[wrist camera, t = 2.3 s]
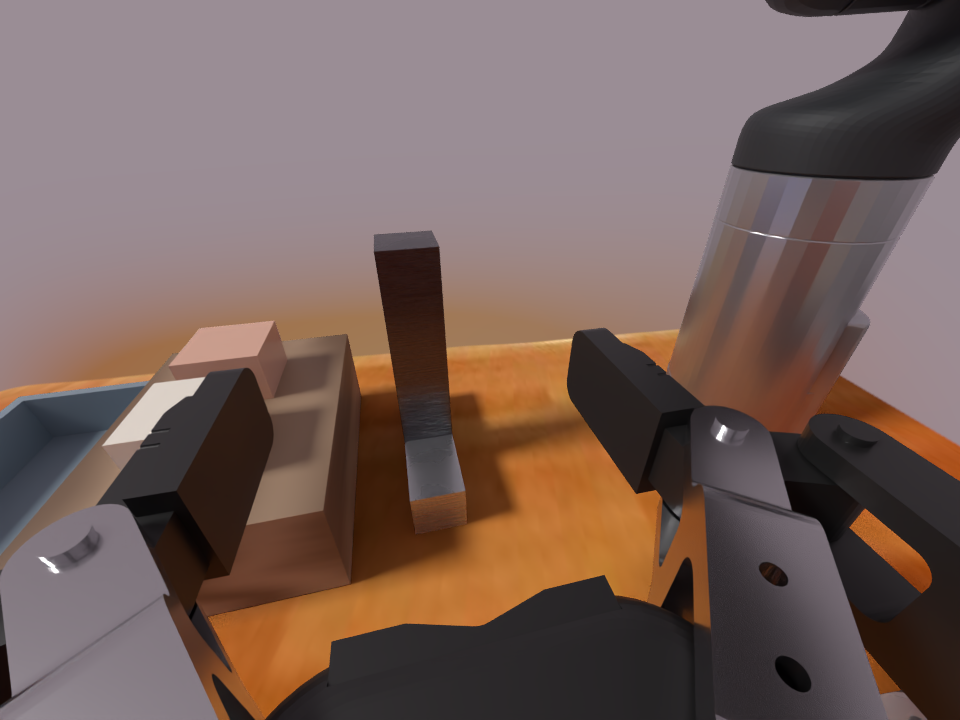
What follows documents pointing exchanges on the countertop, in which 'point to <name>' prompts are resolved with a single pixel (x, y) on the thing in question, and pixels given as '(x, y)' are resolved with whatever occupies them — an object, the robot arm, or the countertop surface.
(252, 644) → the countertop surface
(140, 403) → the white block
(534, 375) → the countertop surface
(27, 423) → the box
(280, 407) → the marbled brown box
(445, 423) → the dark grey tall part
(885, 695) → the flashlight
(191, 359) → the pink block
